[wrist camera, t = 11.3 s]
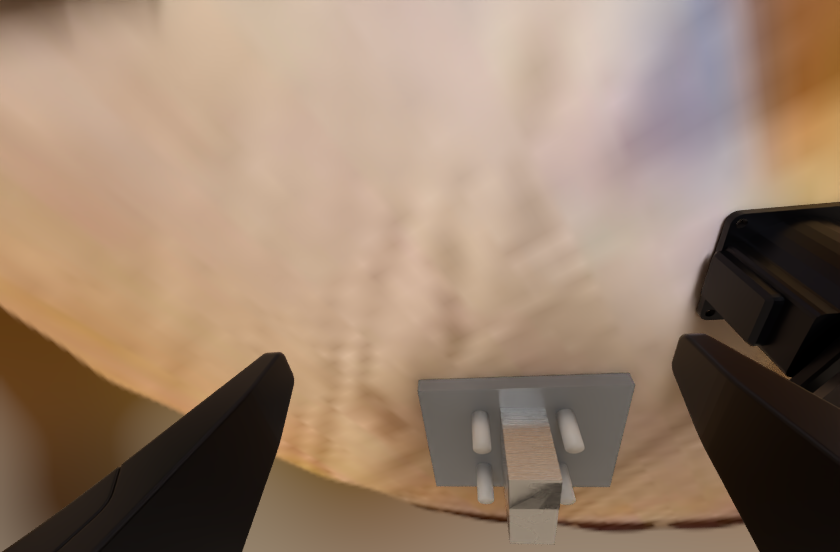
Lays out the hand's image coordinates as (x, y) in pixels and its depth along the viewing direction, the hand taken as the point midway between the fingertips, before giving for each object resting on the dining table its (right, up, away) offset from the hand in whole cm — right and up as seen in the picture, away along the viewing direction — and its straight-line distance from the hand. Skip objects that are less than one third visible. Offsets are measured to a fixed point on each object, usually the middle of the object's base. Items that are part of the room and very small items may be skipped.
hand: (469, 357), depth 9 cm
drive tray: (+6, -10, +20) cm, 24 cm away
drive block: (+6, -11, +19) cm, 23 cm away
